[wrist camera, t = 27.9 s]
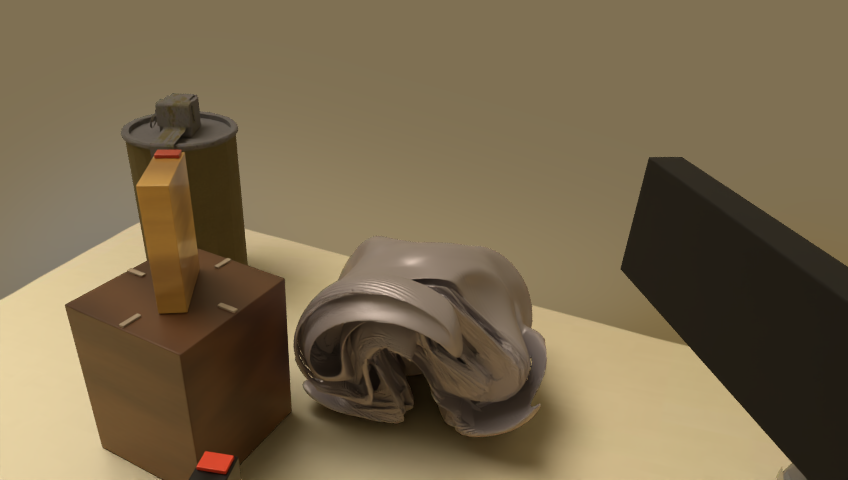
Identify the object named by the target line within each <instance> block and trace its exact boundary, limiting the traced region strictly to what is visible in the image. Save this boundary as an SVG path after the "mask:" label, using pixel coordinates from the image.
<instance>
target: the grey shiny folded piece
mask: <svg viewBox="0 0 848 480" xmlns="http://www.w3.org/2000/svg"><path fill="white" fill-rule="evenodd" d="M531 305H532V304H531V299H530V295H529V292H528V289H527V286H526V284H525V282H524V280H523V278H522V276H521V275H520V273H519V272H518V270H517V269H516V268H515V267H514V266H513V264H512V263H511V262H510V261H509V260H508V259H507V258H505V257H504V256H502V255H501V254H500V253H498V252H496V251H494V250H492V249H489V248H486V247H481V246H470V245H462V244H454V243H435V242H426V243H419V242H411V241H404V240H398V239H393V238H388V237H383V236H373V237H370V238H368V239H366V240H365V241H364V242H362V243H361V244H360V245H359V246H358V248H357V249H356V250H355V251H354V253H353V254H352V255H351V256H350V258H349V259H348V261H347V263H346V264H345V266H344V268H343V270H342V272H341V274H340V276H339V279H338V281H336V282H334V283H333V284H331V285H329V286H328V287H326V288H325V289H324V290H322V291H321V292H320V293H319V294H318V295H317V296H316V297H315V298H314V299H313V300H312V301H311V302H310V304H309V305H308V306H307V308H306V309H305V311H304V312H303V314H302V316H301V318H300V319H299V322H298V325H297V328H296V331H295V335H294V346H293V347H294V352H295V356H296V357H295V361H296V362H297V366H298V365H299V366H298V367H299V369H300V371H301V372H302V373H303V374H304V375H303V376H305V377H306V378H307V379H308V380H306V381H304V382H303V388H304V390H305V391H306V393H307V394H308V395H309V396H310V397H312V399H314V400H316V401H317V402H318V403H320V404H322V405H323V406H325V407H327V408H329V409H332V410H334V411H338V412H339V413H340V412H341V413H344V415H345V414H347V415H352V416H358V417H361V418H366V419H368V420H378V421H376V422H381V421H383V422H387V423H389V424H390V423H395V424H398V423H401V422H403V420H404V417H403V416H404V415H403V414H405V413H406V411H408V410H411V409H412V408H413V405H414V401H413V400H414V397H413V395H412V391H411V388H410V386H409V384H408V382H407V380H406V379H407V378H406V375H418V374H422V373H423V374H424V376H425V378H426V380H427V381H428V383H429V385H430V388H431V389H432V392H434V395H433V394H432V392H431V394H432V397H433V399H434V400H435V402H436V403H437V404H438V407H439V411H440V413H441V416H442V418H443V420H444V421H445V423H446V424H448V425H450V426H454V427H455V431H457V432H459V433H460V434H461V435H466V436H470V437H487V436H494V435H500V434H504V433H507V432H510V431H512V430H515V429H517V428H519V427H520V426H522V425H524V424H525V423H526V422H528V421H529V420H530V419H531V418H532V417H533V416H534V415H535V414H536V413H537V411H538V410H539V408H540V405H541V404H537V405H536V406H534V407H531V401H532V400H533V398H534V395H535V393H536V392H537V389H538V388H539V386H540V383H541V381H542V379H543V376H544V374H545V368H546V361H547V358H546V346H545V339H544V338H543V336H542V335H541V334H540V333H538V332H537V331H535V330H534V329H532V328H531V326H532V306H531ZM297 342H298V343H297ZM298 345H299V346H298ZM300 350H301V352H300ZM299 355H300V357H301V359H302V360H301V359H300V357H299ZM530 358H532V366H530V365H531V362H530ZM302 361H303V362H304V364H303V362H302ZM305 365H306V366H305ZM307 366H308V368H310V370H311V371H310V370H309V369H308V368H307ZM530 367H531V370H530ZM529 370H530V371H529ZM531 371H532V372H531ZM308 373H309V374H308ZM528 374H529V375H528ZM309 375H310V376H312V377H313V378H311V377H310V376H309ZM527 378H528V380H527ZM526 380H527V381H526ZM375 417H376V418H375Z"/></svg>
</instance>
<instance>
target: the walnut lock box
mask: <svg viewBox="0 0 848 480" xmlns="http://www.w3.org/2000/svg"><path fill="white" fill-rule="evenodd" d="M197 250H198V258H199V265H200V270H199V273H198V277H197V280H196V284H195V287H194V291H193V294H192V298H191V301H190V305H189V308H188V312H185V313H163V314H159V313H158V309H157V303H156V297H155V292H154V286H153V280H152V275H151V269H150V263H149V260H148V261H146V262H144V263H142V264H140V265H138V266H136V267H134V268H133V269H132V268H130V269H129V270H127V272H125V273H123V274H121V275H120V276H118V277H116V278H114V279H112V280H110V281H108V282H107V283H105V284H103V285H101V286H99V287H97V288H95V289H93V290H92V291H90V292H88V293H86V294H84V295H82V296H80V297H79V298H77V299H75V300H73V301H71V302H69V303H67V304H66V305H65V308H66V311H67V315H68V319H69V323H70V326H71V330H72V334H73V338H74V342H75V345H76V349H77V353H78V357H79V360H80V364H81V368H82V372H83V376H84V379H85V383H86V387H87V391H88V394H89V398H90V402H91V406H92V410H93V413H94V417H95V421H96V425H97V428H98V432H99V436H100V440H101V444H102V447H104V448H105V449H107V450H109V451H111V452H113V453H115V454H116V455H118V456H120V457H122V458H124V459H126V460H128V461H129V462H131V463H133V464H135V465H137V466H139V467H140V468H142V469H144V470H146V471H148V472H150V473H152V474H153V475H155V476H157V477H159V478H161V479H163V480H189V478H190V476H191V474H192V473H193V471H194V469H195V468H196V466H197V464H198V462H199V461H200V459H201V457H202V456H203V454H204V452H205V451H208V452H214V453H221V454H227V455H233V456H238V457H239V465H240V464H241V463H242V462H243V461H244V460H245V459H246V458H247V457H248V456H249V455H250V454H251V452H252V451H253V450H254V449H255V448H256V447H257V446H258V445H259V444H260V443H261V442H262V441H263V440H264V439H265V438H266V437H267V436H268V435H269V434H270V433H271V432H272V431H273V430H274V429H275V428H276V427H277V426H278V425H279V424H280V423H281V422H282V421H283V420H284V418H285V417H286V416H287V415H288V414H289V413H290V412H291V411H292V409H291V390H290V371H289V353H288V334H287V315H286V296H285V279H284V278H282V277H279V276H276V275H273V274H270V273H267V272H264V271H261V270H259V269H256V268H253V267H250V266H247V265H244V264H241V263H238V262H236V261H233V260H231V259H229V258H224V257H221V256H218V255H215V254H213V253H210V252H207V251H204V250H201V249H198V248H197Z"/></svg>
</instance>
